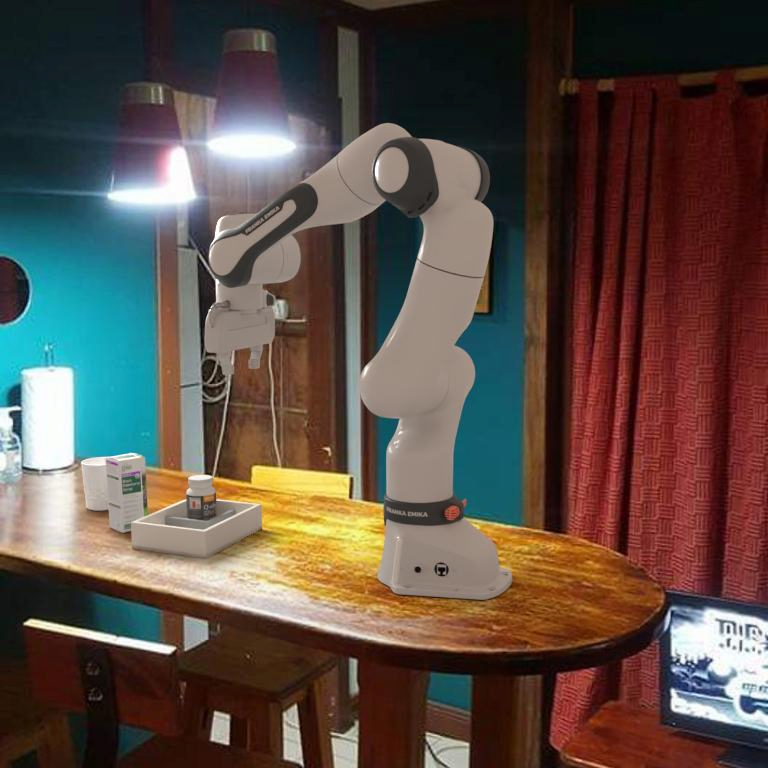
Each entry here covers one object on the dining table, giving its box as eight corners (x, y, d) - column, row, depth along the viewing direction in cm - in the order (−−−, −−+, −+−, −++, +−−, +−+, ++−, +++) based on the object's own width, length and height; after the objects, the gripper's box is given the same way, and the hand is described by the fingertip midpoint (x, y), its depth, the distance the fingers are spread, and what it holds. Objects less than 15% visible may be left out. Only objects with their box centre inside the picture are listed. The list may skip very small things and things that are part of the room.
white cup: (129, 505, 222) (127, 459, 220) (101, 513, 215) (99, 466, 214) (104, 500, 226) (101, 455, 224) (75, 508, 219) (73, 462, 218)
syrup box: (122, 533, 200) (119, 460, 198) (108, 527, 205) (105, 455, 203) (149, 528, 204) (146, 456, 202) (134, 522, 209) (131, 451, 206)
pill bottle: (210, 531, 199) (209, 481, 198) (182, 530, 200) (180, 480, 199) (221, 523, 205) (219, 474, 203) (193, 522, 206) (192, 473, 204)
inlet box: (262, 528, 203) (261, 504, 202) (205, 558, 185) (204, 531, 184) (192, 520, 209) (192, 496, 208) (132, 548, 191) (130, 522, 190)
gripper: (224, 303, 186) (226, 379, 188) (280, 296, 204) (281, 366, 206) (194, 302, 188) (197, 377, 190) (252, 296, 207) (254, 364, 209)
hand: (241, 371), depth 199 cm, fingers open, 8 cm apart
